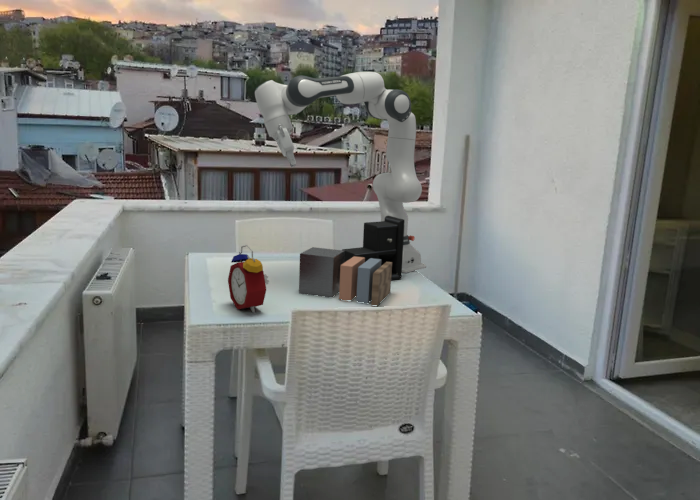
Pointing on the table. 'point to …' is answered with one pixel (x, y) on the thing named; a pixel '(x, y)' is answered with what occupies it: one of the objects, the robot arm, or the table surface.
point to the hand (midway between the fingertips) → (293, 165)
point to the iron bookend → (320, 271)
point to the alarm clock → (247, 281)
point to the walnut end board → (381, 283)
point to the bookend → (382, 244)
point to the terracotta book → (349, 278)
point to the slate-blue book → (366, 279)
